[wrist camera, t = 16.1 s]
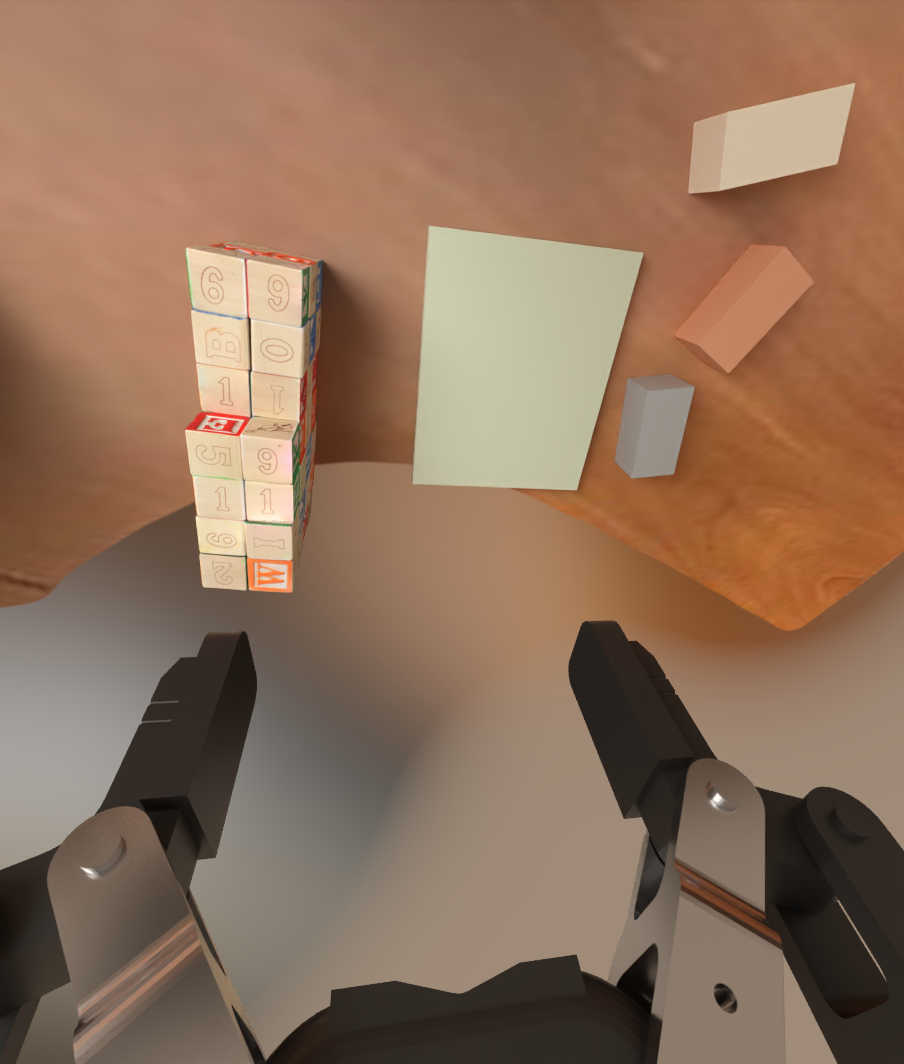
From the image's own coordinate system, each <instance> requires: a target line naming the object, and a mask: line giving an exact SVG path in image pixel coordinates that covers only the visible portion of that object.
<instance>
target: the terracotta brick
mask: <svg viewBox="0 0 904 1064" xmlns="http://www.w3.org/2000/svg"><path fill="white" fill-rule="evenodd" d="M813 283H814V281H813V280H812V278H811V277H810V276H809V275H808V273H807V272H806V271H805V270H804V268H803V267H802V266H801V265H800V264H799V262H798V261H797V260H796V259H795V257H794V256H793V255H792V254H791V252H790V251H789V250H788V249H787V247H786V246H771V245H757V244H751V245H750V246H749V247H748V248H747V249H746V251H745V252H744V253H743V254H742V255H741V256H740V258H739V259H738V260H737V261H736V262H735V264H734V265H733V266H732V267H731V268H730V269H729V271H728V272H727V273H726V274H725V275H724V277H723V278H722V279H721V280H720V281H719V283H718V284H717V285H716V286H715V287H714V288H713V290H712V291H711V292H710V293H709V294H708V296H707V297H706V298H705V299H704V300H703V301H702V303H701V304H700V305H699V306H698V307H697V309H696V310H695V311H694V312H693V313H692V315H691V316H690V317H689V318H688V319H687V320H686V322H685V323H684V324H683V325H682V326H681V328H680V329H679V330H678V331H677V332H676V333H675V335H674V336H675V337H676V338H677V339H678V340H679V341H680V342H681V343H682V344H683V345H685V346H686V347H687V348H688V349H689V350H690V351H691V352H692V353H693V354H694V355H695V356H696V357H697V358H699V359H700V360H701V361H702V362H704V363H706V364H708V365H710V366H712V367H715V368H717V369H719V370H721V371H724V372H726V373H728V374H729V373H730V372H731V371H732V370H733V368H734V367H735V366H736V365H737V364H738V363H739V362H740V361H741V360H742V359H743V358H744V357H745V356H746V354H747V353H748V352H749V351H750V350H751V349H752V348H753V347H754V346H755V345H756V344H757V343H758V342H759V341H760V339H761V338H762V337H763V336H764V335H765V334H766V333H767V332H768V331H769V330H770V329H771V328H772V327H773V326H774V324H775V323H776V322H777V321H778V320H779V319H780V318H781V317H782V316H783V315H784V314H785V313H786V312H787V311H788V309H789V308H790V307H791V306H792V305H793V304H794V303H795V302H796V301H797V300H798V299H799V298H800V297H801V296H802V294H803V293H804V292H805V291H806V290H807V289H808V288H809V287H810V286H811V285H812V284H813Z"/></svg>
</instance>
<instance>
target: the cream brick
mask: <svg viewBox="0 0 904 1064" xmlns="http://www.w3.org/2000/svg"><path fill="white" fill-rule="evenodd" d="M854 88H855V83H852V84H848V85H844V86H839V87H835V88H830V89H826V90H822V91H817V92H813V93H809V94H804V95H800V96H795V97H791V98H787V99H782V100H778V101H774V102H769V103H765V104H761V105H756V106H752V107H747V108H743V109H739V110H734V111H730V112H726V113H723V114H720V115H717V116H713V117H710V118H707V119H704V120H700V121H697V122H694V129H693V141H692V153H691V165H690V177H689V190H688V194H691V193H702V192H714V191H722V190H726V189H730V188H735V187H739V186H744V185H748V184H752V183H757V182H761V181H766V180H770V179H774V178H779V177H783V176H788V175H792V174H796V173H801V172H805V171H809V170H814V169H818V168H823V167H827V166H831V165H836V164H837V163H838V159H839V154H840V150H841V145H842V141H843V136H844V132H845V128H846V123H847V119H848V114H849V110H850V105H851V101H852V97H853V92H854Z"/></svg>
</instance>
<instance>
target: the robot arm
mask: <svg viewBox="0 0 904 1064" xmlns="http://www.w3.org/2000/svg"><path fill="white" fill-rule="evenodd" d="M568 668H569V671H568V672H569V680H570V684H571V687H572V690H573V692H574V695H575V697H576V700H577V702H578V705H579V707H580V710H581V712H582V715H583V717H584V720H585V722H586V724H587V727H588V730H589V732H590V735H591V737H592V740H593V742H594V745H595V747H596V750H597V752H598V755H599V757H600V760H601V762H602V765H603V767H604V770H605V772H606V775H607V777H608V780H609V782H610V785H611V787H612V790H613V792H614V795H615V797H616V800H617V802H618V805H619V808H620V810H621V812H622V815H623V817H624V819H627V818H638V817H642V818H643V821H644V823H645V825H646V828H647V831H646V833H645V836H644V839H643V844H642V849H641V854H640V858H639V863H638V868H637V873H636V877H635V882H634V887H633V892H632V897H631V901H630V906H629V911H628V916H627V920H626V924H625V927H624V930H623V933H622V936H621V938H620V940H619V942H618V945H617V947H616V951H615V954H614V956H613V960H612V964H611V968H610V972H609V976H608V981H605V980H603V979H601V978H599V977H597V976H594V975H592V974H589V973H587V972H583V971H581V970H580V966H579V962H578V958H577V955H570V956H563V957H556V958H549V959H542V960H535V961H529V962H522V963H519V964H517V965H515V966H513V967H511V968H509V969H508V970H506V971H504V972H502V973H500V974H499V975H497V976H495V977H493V978H491V979H489V980H488V981H486V982H484V983H482V984H480V985H478V986H476V987H475V988H473V989H471V990H469V991H467V992H465V993H461V994H456V993H450V992H445V991H440V990H436V989H431V988H427V987H422V986H417V985H412V984H407V983H403V982H398V981H391V982H384V983H377V984H370V985H364V986H357V987H349V988H343V989H336V990H331V1003H330V1006H329V1007H327V1008H326V1009H323V1010H322V1011H320V1012H318V1013H316V1014H315V1015H314V1016H312V1017H311V1018H309V1019H308V1020H306V1021H305V1022H304V1023H302V1024H301V1025H300V1026H299V1027H297V1028H296V1029H295V1030H294V1031H293V1032H292V1033H291V1034H290V1035H289V1036H287V1037H286V1039H285V1040H284V1041H283V1042H282V1043H281V1044H280V1045H279V1046H278V1047H277V1048H276V1049H275V1051H274V1052H273V1053H272V1054H271V1055H270V1056H269V1058H268V1059H267V1058H266V1056H265V1054H264V1052H263V1049H262V1047H261V1045H260V1043H259V1040H258V1038H257V1036H256V1034H255V1031H254V1029H253V1027H252V1025H251V1022H250V1020H249V1018H248V1016H247V1014H246V1011H245V1009H244V1008H243V1005H242V1003H241V1001H240V999H239V997H238V995H237V993H236V991H235V989H234V987H233V985H232V983H231V981H230V979H229V976H228V974H227V972H226V970H225V967H224V965H223V963H222V961H221V959H220V956H219V954H218V952H217V949H216V947H215V945H214V943H213V940H212V938H211V936H210V933H209V931H208V929H207V926H206V924H205V922H204V920H203V918H202V915H201V913H200V911H199V908H198V906H197V904H196V902H195V899H194V897H193V895H192V893H191V890H190V888H189V886H190V882H191V879H192V876H193V872H194V869H195V865H196V861H197V860H199V859H208V858H215V857H216V854H217V850H218V846H219V842H220V838H221V835H222V831H223V827H224V823H225V819H226V815H227V811H228V806H229V803H230V799H231V795H232V791H233V787H234V783H235V779H236V775H237V771H238V767H239V763H240V759H241V755H242V751H243V747H244V743H245V739H246V736H247V732H248V728H249V724H250V720H251V716H252V712H253V708H254V704H255V699H256V692H257V676H256V671H255V666H254V662H253V658H252V653H251V649H250V645H249V641H248V636H247V634H246V632H245V631H238V632H210V633H208V634H207V635H206V637H205V638H204V641H203V643H202V646H201V648H200V650H199V653H198V656H197V657H191V658H190V657H188V658H180V659H179V660H178V661H177V662H176V663H175V664H174V665H173V666H172V667H171V668H170V669H169V670H168V672H167V673H166V674H165V675H164V676H163V677H162V678H161V680H160V682H159V684H158V686H157V688H156V690H155V693H154V695H153V697H152V699H151V704H150V705H149V706H148V707H147V710H146V712H145V714H144V716H143V718H142V724H141V725H139V727H138V729H137V731H136V733H135V735H134V738H133V740H132V742H131V744H130V746H129V748H128V750H127V753H126V755H125V757H124V759H123V761H122V763H121V766H120V768H119V770H118V772H117V774H116V776H115V778H114V781H113V783H112V785H111V787H110V789H109V791H108V794H107V796H106V798H105V800H104V801H103V803H102V805H101V807H100V808H99V810H98V811H97V812H96V814H95V815H94V816H92V817H91V818H89V819H88V820H86V821H85V822H83V823H82V824H81V825H79V826H78V827H77V828H76V829H75V830H74V831H72V832H71V833H70V835H68V837H67V838H66V839H65V840H64V841H63V843H62V844H61V845H59V846H57V847H56V848H53V849H52V850H50V851H47V852H45V853H43V854H41V855H38V856H36V857H33V858H30V859H28V860H25V861H23V862H20V863H18V864H15V865H12V866H10V867H7V868H5V869H2V870H0V1064H16V1061H17V1058H18V1056H19V1053H20V1050H21V1048H22V1045H23V1043H24V1040H25V1037H26V1035H27V1032H28V1030H29V1027H30V1024H31V1022H32V1019H33V1016H34V1014H35V1011H36V1009H37V1006H38V1003H39V1001H40V998H41V996H43V995H45V994H47V993H49V992H51V991H53V990H55V989H57V988H59V987H61V986H63V985H65V984H67V983H69V982H71V984H72V987H73V991H74V996H75V1000H76V1004H77V1008H78V1014H79V1023H78V1026H77V1027H76V1029H75V1031H74V1037H73V1047H74V1055H75V1062H76V1064H786V1060H785V1014H784V969H783V954H784V956H785V958H786V961H787V963H788V965H789V967H790V969H791V971H792V973H793V975H794V976H795V979H796V981H797V983H798V984H799V987H800V989H801V991H802V992H803V995H804V997H805V999H806V1001H807V1003H808V1005H809V1007H810V1009H811V1011H812V1013H813V1015H814V1017H815V1019H816V1021H817V1023H818V1025H819V1027H820V1029H821V1031H822V1033H823V1035H824V1037H825V1039H826V1041H827V1043H828V1045H829V1047H830V1049H831V1051H832V1053H833V1055H834V1057H835V1059H836V1061H837V1064H904V851H903V849H902V848H901V847H900V845H899V844H898V843H897V841H896V840H895V839H894V837H893V836H892V835H891V833H890V832H889V831H888V830H887V828H886V827H885V826H884V824H883V823H882V822H881V821H880V819H879V818H878V817H877V816H876V815H875V814H874V813H873V812H872V811H871V810H870V809H869V808H867V807H866V806H865V805H864V804H863V803H861V802H860V801H859V800H857V799H855V798H854V797H852V796H851V795H849V794H847V793H845V792H843V791H840V790H837V789H834V788H830V787H817V788H815V789H813V790H812V791H810V792H809V793H808V794H807V795H806V797H804V798H803V799H801V798H797V797H793V796H789V795H785V794H781V793H777V792H773V791H769V790H765V789H762V788H758V787H755V786H754V785H753V784H752V782H751V781H750V780H749V779H748V778H747V777H746V776H745V775H744V774H743V773H741V772H740V771H739V770H737V769H736V768H735V767H733V766H731V765H729V764H728V763H725V762H723V761H720V760H718V759H717V758H716V757H715V755H714V754H713V752H712V751H711V749H710V747H709V746H708V744H707V742H706V741H705V739H704V738H703V736H702V734H701V733H700V731H699V729H698V728H697V726H696V724H695V723H694V721H693V720H692V718H691V716H690V715H689V713H688V711H687V710H686V708H685V706H684V705H683V703H682V702H681V700H680V698H679V697H678V695H676V694H675V690H674V688H673V687H672V685H671V684H670V682H669V680H668V679H666V677H665V674H664V672H663V670H662V669H661V667H660V665H659V664H658V662H657V660H656V659H655V657H654V656H653V655H651V654H650V653H649V652H648V651H647V650H646V649H645V648H644V647H643V646H642V645H641V644H639V643H638V642H637V641H628V639H627V638H626V636H625V634H624V632H623V631H622V629H621V627H620V626H619V624H618V623H617V622H615V621H585V622H583V623H582V625H581V627H580V630H579V633H578V636H577V639H576V642H575V645H574V648H573V651H572V655H571V658H570V661H569V667H568ZM838 900H840V902H841V904H842V906H843V907H844V909H845V910H846V912H847V914H848V915H849V917H850V919H851V920H852V922H853V923H854V925H855V927H856V928H857V930H858V932H859V933H860V935H861V937H862V938H863V940H864V941H865V943H866V945H867V946H868V948H869V949H870V951H871V953H872V954H873V956H874V958H875V959H876V961H877V963H878V964H879V966H880V968H881V969H882V971H883V974H884V976H885V978H886V980H885V979H884V977H883V975H882V974H881V972H880V970H879V969H878V967H877V966H876V964H875V962H874V961H873V959H872V957H871V956H870V954H869V952H868V951H867V949H866V948H865V946H864V944H863V943H862V941H861V939H860V938H859V936H858V934H857V933H856V931H855V930H854V928H853V926H852V925H851V923H850V922H849V920H848V918H847V917H846V915H845V913H844V912H843V910H842V908H841V907H840V905H839V903H838V902H837V901H838ZM766 920H767V921H766ZM767 922H768V923H767ZM886 981H887V982H886Z"/></svg>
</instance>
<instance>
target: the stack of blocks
mask: <svg viewBox="0 0 904 1064" xmlns="http://www.w3.org/2000/svg"><path fill="white" fill-rule="evenodd" d="M186 259H187V269H188V278H189V289H190V297H191V303H192V307H193V308H192V310H191V317H192V326H193V336H194V345H195V356H196V361H197V365H196V370H197V379H198V387H199V395H200V403H201V407H202V410H203V412H201V413H199V414H198V415H197V416H196V418H195V419H194V420H193V421H192V422H191V423H190V424H189V425H188V426H187V428H186V429H185V433H186V441H187V449H188V456H189V464H190V472H191V474H192V476H193V488H194V495H195V503H196V511H197V515H196V525H197V533H198V542H199V550H200V556H199V557H200V567H201V577H202V585H203V587H210V588H224V589H237V590H246V589H247V588H249V589H250V590H254V591H269V592H292V591H293V588H294V583H295V578H296V572H297V568H298V565H299V561H300V557H301V553H302V548H303V540H304V535H305V530H306V526H307V525H308V522H309V517H310V511H311V499H312V485H313V480H314V459H315V443H316V423H317V422H316V420H315V415H316V392H317V386H316V376H317V353H318V348H319V346H320V326H321V291H322V268H323V261H322V260H321V259H317V258H312V257H307V256H302V255H298V254H293V253H288V252H283V251H278V250H275V249H271V248H266V247H262V246H257V245H252V244H246V243H240V242H228V243H224V244H223V243H219V244H214V245H210V246H204V245H201V246H194V247H188V248H186Z"/></svg>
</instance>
